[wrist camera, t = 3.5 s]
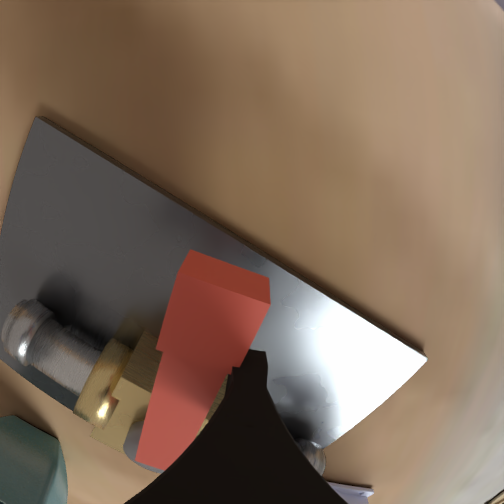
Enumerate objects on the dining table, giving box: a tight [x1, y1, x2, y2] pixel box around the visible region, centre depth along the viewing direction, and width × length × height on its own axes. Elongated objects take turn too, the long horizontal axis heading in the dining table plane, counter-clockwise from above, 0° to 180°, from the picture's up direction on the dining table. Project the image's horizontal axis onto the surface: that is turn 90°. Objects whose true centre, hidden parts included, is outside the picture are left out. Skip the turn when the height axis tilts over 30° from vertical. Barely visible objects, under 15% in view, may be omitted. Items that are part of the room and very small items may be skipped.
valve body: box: [0, 116, 428, 476], centre depth 13 cm, size 22×16×4 cm
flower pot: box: [0, 415, 68, 504], centre depth 16 cm, size 9×9×9 cm
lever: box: [123, 249, 271, 474], centre depth 10 cm, size 11×3×2 cm, turn 159°
